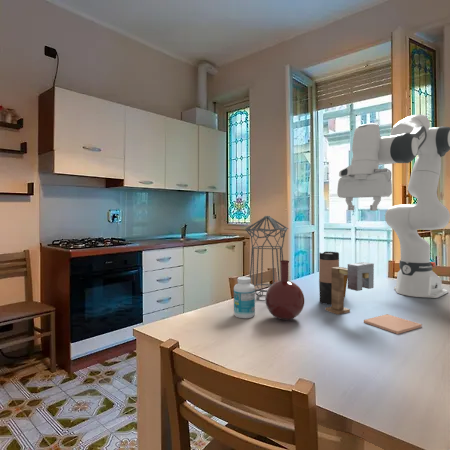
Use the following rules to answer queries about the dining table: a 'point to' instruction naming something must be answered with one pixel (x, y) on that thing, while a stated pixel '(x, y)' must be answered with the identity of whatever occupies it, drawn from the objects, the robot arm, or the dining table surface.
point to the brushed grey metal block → (360, 276)
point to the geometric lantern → (275, 225)
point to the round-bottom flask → (284, 296)
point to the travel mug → (327, 275)
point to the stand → (339, 290)
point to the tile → (392, 323)
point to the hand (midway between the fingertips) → (361, 210)
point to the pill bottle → (244, 298)
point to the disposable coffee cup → (345, 281)
